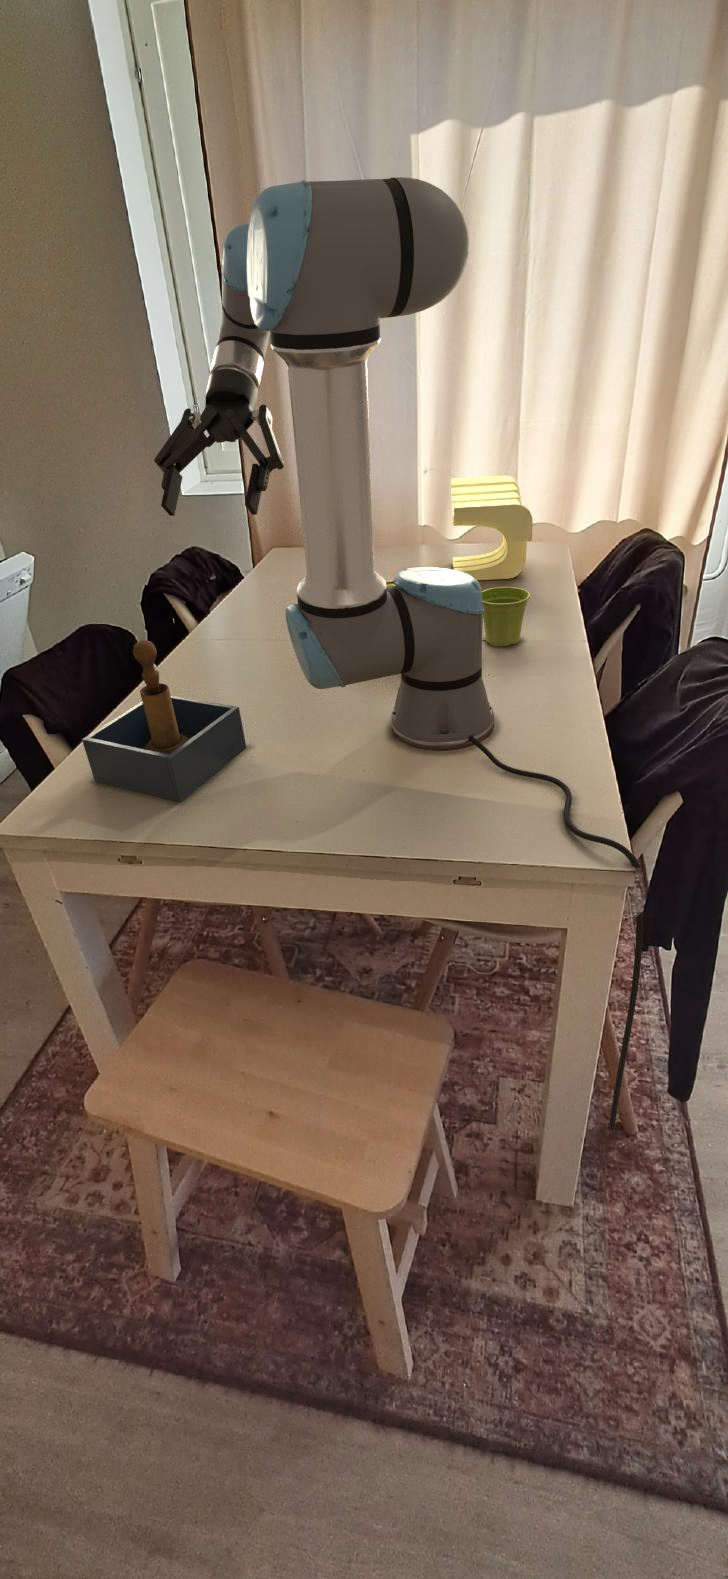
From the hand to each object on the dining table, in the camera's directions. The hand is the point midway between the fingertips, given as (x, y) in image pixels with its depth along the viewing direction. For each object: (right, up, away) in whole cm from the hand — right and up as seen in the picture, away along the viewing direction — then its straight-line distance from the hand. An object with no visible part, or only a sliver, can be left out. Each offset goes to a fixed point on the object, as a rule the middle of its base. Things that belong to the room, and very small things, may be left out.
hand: (208, 510), depth 112 cm
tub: (-5, -37, -1) cm, 38 cm away
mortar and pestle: (-5, -37, -1) cm, 37 cm away
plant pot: (+48, -14, +29) cm, 58 cm away
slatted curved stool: (+52, +10, +65) cm, 84 cm away
